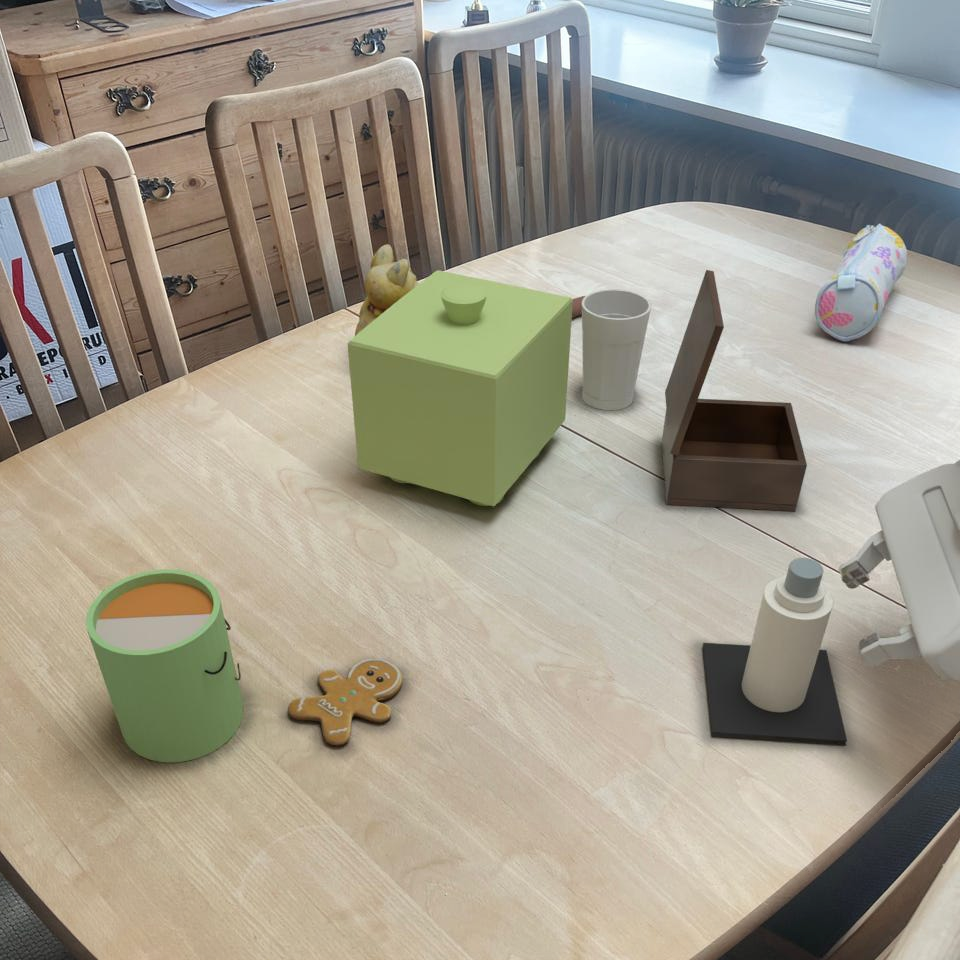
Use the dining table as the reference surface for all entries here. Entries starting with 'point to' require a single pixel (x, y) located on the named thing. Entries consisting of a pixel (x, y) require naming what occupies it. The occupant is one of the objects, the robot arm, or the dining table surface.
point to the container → (460, 384)
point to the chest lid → (693, 361)
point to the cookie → (350, 698)
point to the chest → (736, 457)
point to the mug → (167, 664)
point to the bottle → (787, 637)
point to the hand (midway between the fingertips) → (853, 615)
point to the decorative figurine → (384, 285)
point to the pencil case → (861, 283)
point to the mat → (748, 721)
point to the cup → (612, 346)
